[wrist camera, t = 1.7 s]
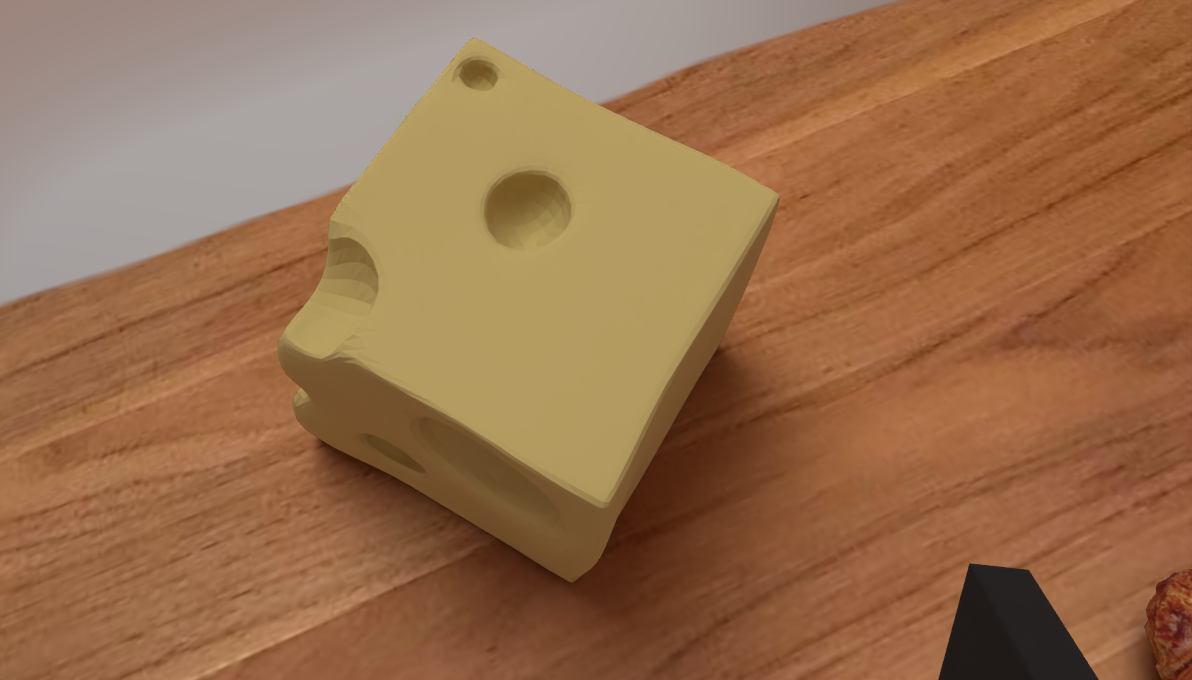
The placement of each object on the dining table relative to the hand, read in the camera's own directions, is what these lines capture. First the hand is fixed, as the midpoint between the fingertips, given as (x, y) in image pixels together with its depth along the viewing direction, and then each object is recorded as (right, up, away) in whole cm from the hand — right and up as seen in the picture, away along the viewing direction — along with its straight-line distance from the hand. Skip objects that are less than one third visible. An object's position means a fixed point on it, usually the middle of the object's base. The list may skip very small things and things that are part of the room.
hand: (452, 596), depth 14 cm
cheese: (0, +2, +22) cm, 22 cm away
